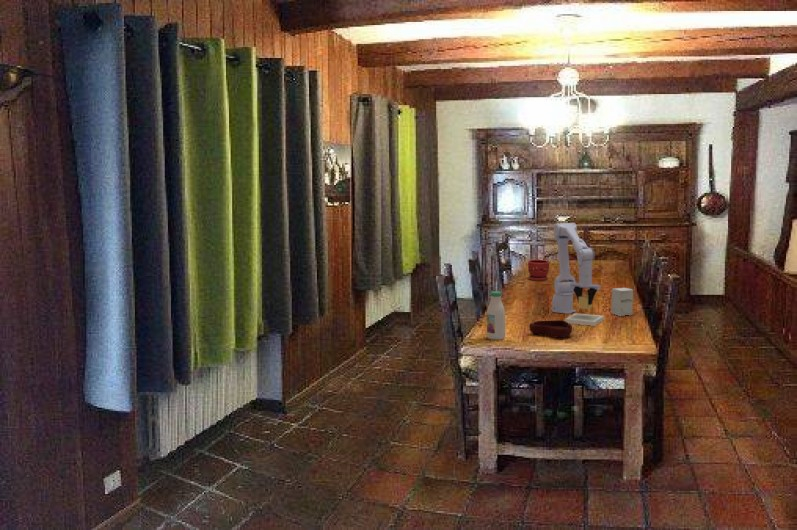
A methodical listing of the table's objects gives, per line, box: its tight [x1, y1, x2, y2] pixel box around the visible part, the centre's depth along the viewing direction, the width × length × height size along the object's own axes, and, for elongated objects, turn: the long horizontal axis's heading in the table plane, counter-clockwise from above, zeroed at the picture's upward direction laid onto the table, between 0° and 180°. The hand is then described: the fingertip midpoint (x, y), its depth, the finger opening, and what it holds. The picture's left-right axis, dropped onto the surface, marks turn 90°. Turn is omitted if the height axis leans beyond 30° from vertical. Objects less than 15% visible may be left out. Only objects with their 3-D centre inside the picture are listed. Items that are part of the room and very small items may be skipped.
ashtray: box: [529, 320, 573, 340], centre depth 311 cm, size 18×16×5 cm
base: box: [564, 312, 605, 327], centre depth 334 cm, size 14×14×2 cm
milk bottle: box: [486, 290, 506, 341], centre depth 306 cm, size 8×8×20 cm
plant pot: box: [527, 259, 550, 282], centre depth 453 cm, size 13×13×12 cm
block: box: [578, 294, 593, 310], centre depth 333 cm, size 5×5×5 cm
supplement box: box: [610, 287, 634, 317], centre depth 346 cm, size 7×7×13 cm
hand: (585, 303), depth 333 cm, fingers closed on block, 5 cm apart
